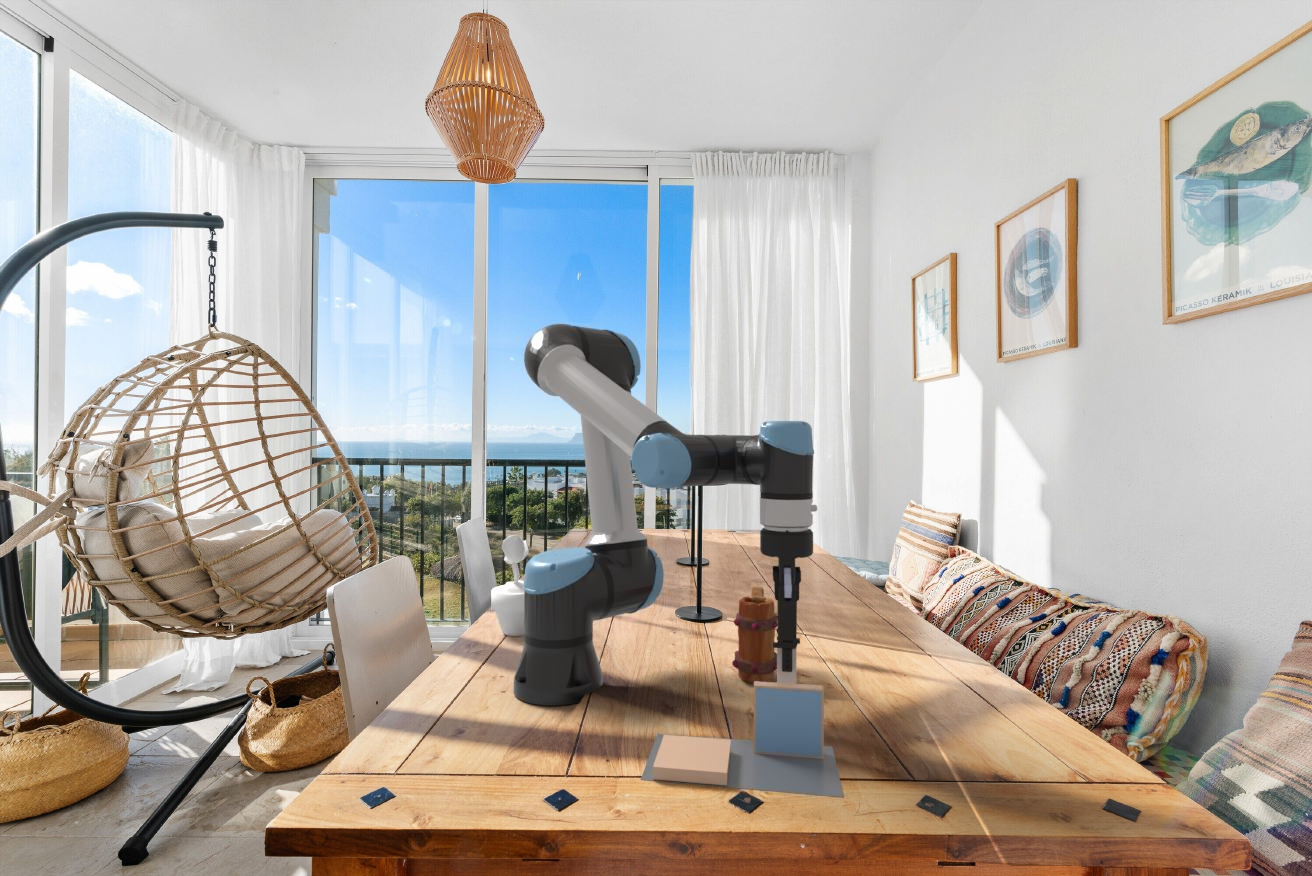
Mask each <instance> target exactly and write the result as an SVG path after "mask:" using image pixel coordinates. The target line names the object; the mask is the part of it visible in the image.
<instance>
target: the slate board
mask: <svg viewBox="0 0 1312 876" xmlns="http://www.w3.org/2000/svg"><path fill="white" fill-rule="evenodd" d="M664 735H671V734H670V733H657V735H656V737H655V740H654V743H653V745H652V748H651V751H650V753H649V756H648V759H647V761H646V764H645V767H644V769H643V772H642V775H641V776H640V781H648V782H659V783H672V784H680V785H681V784H683V785H696V786H705V787H707V786H708V787H718V788H726V789H727V788H728V789H740V790H752V791H753V790H754V791H760V792H761V791H763V792H775V793H786V794H799V795H810V796H820V797H831V798H832V797H834V798H843V799H844V793H843V786H842V784H841V779H840V775H839V771H838V765H837V759H836V755H835V752H834V751H835V750H834V747H833V746H829V745H827V746H826V745H824V759H820V758H807V757H794V756H781V755H769V754H756V753H754V740H750V739H749V740H748V739H735V738H727V739H728V740H731V755H730V764H729V772H728V781H727V785H715V784H704V783H692V782H681V781H669V780H658V779H653V765H654V762H655V759H656V756H657V753H658V751H659V748H660V745H661V742H662V739H663V736H664ZM674 735H675V736H685V735H681V734H680V735H679V734H674ZM687 736H688V737H698V736H694V735H693V736H692V735H687ZM700 737H701V738H711V737H708V736H707V737H706V736H700ZM714 738H715V739H724V737H723V738H720V737H714Z"/></svg>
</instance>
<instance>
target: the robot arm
mask: <svg viewBox="0 0 1312 876" xmlns="http://www.w3.org/2000/svg"><path fill="white" fill-rule="evenodd" d="M523 358H524V359H523V361H524V367H525V370H526V373H527V374H528V376H529V378H530V380H531V381H532V382H533V383H534V384H535V385H536V386H537V387H538V388H539V389H540V390H541V391H543V392H544V393H546V395H549V396H552V397H559V398H560V399H561V400H562V401H564V402H565V403H567V404H568V405H569V406H570V407H571V408H572V409H573V410H575V411H576V412H577V413H578V415H580V421H581V422H580V423H581V433H582V444H583V452H584V464H585V473H586V474H585V475H586V483H587V485H586V486H587V495H588V502H589V503H588V504H589V514H590V525H591V533H592V534H591V535H590V537H589V538H588V539H587V541H586V542H585V544H584V546H585V547H579V546H576V547H575V546H574V547H570V546H569V547H565V548H555V549H550V550H546V551H543V552H540V553H537V554H535V555H534V556H532V557H531V558H530V559H529V560H528V561H527V563H526V564H525V569H524V578H523V579H524V580H523V581H524V584H523V587H524V636H523V637H524V638H523V639H524V643H523V644H524V645H523V649H522V652H521V654H520V658H519V660H518V665H517V667H516V670H515V673H514V676H513V694H514V696H515V697H516V698H517V699H518V700H520V701H523V702H526V703H528V704H533V705H541V706H565V705H566V706H567V705H572V704H577V703H581V702H582V700H583V698H584V697H585V696H586V695H589V694H590V693H593V692H595V691H597V690H598V689H600V688H601V687H602V686H604V683H603V682H604V675H603V671H602V667H601V665H600V662H599V658H598V655H597V652H596V648H595V645H594V640H593V639H594V638H593V637H594V636H593V635H594V633H593V630H594V627H593V626H594V622H595V621H600V620H605V619H608V618H613V617H617V616H620V615H624V614H635V613H636V612H638V611H641V610H644V609H647V608H648V607H650V606H652V605H654V603H655V602H656V601H657V600H656V599H657V598H658V597H659V596H660V594H661V592H662V589H663V585H664V575H665V573H664V565H663V563H662V560H661V558H660V557H659V556H658V553H657V552H656V550H654V549H653V548H651V547H649V546H648V538H647V536H646V535H645V534H644V533H642V531H640V530H639V528H638V520H637V519H638V518H637V510H636V502H635V491H634V482H633V473H632V472H634V474H635V477H636V479H637V480H638V482H640V484H642V485H643V486H645V487H648V488H652V489H653V488H654V489H655V488H658V489H664V490H668V489H669V490H671V489H676V488H684V487H696V486H698V487H699V486H713V485H714V486H715V485H717V486H718V485H731V484H732V485H734V484H735V485H755V486H759V493H760V495H759V496H760V497H759V524H760V525H762V526H763V527H762V528H761V530H760V532H759V537H760V540H759V541H760V542H759V543H760V544H759V547H760V549H759V551H760V553H761V554H762V555H764V556H766V557H768V558H769V557H770V558H777V559H778V561H777V562H778V564H777V565H772V581H773V582H774V584H773V585H774V600H775V601H776V602H777V606H776V607H777V616H778V620H777V624H778V626H777V627H776V634H777V636H776V642H775V641H774V642H773V648H774V649H776V653H777V669H776V683H792V684H797V647H798V644H799V645H800V644H801V639H800V637H797V628H798V627H797V625H798V623H797V620H798V618H797V617H798V614H797V613H798V611H797V609H798V603H797V602H799V600H800V583H801V582H802V570H801V567H800V566H796V559H799V558H801V559H804V558H809V557H811V556H812V555H813V554H814V532H813V531H812V529H810V528H809V527H812V525H814V524H813V523H814V521H813V520H814V519H813V518H814V517H813V516H814V515H813V513H812V512H814V513H815V512H817V511H818V506H817V505H816V504H813V503H814V502H813V496H814V495H813V494H814V491H813V484H814V483H813V480H814V479H813V474H814V471H813V470H814V454H815V450H814V443H813V441H814V440H813V429H812V426H811V424H810V423H808V422H806V421H804V420H803V421H802V420H772V421H771V420H770V421H763V422H762V423H761V425H760V428H759V434H756V435H748V434H745V435H743V434H742V435H741V434H740V435H737V434H736V435H735V434H734V435H731V434H687V433H683V432H682V431H680V430H679V429H678V428H676V427H675V426H673V425H672V424H670V423H669V422H668V421H667V420H665V419H664V418H663V417H661V416H660V415H659V414H657V413H656V412H655V411H653V409H651V408H649V407H648V406H646V404H644V403H643V402H642V401H640V399H637V398H636V397H634V396H633V395H632V389H633V388H634V387H635V386H636V384H637V383H638V381H639V378H638V377H639V376H640V374H641V368H642V366H641V358H640V353H639V351H638V348H637V346H636V345H635V343H634V342H633V340H631V339H630V337H628V336H626V335H625V334H622V333H619V332H616V331H613V330H610V329H599V328H591V327H585V326H579V325H571V324H566V323H556V324H555V323H553V324H549V325H546V326H544V327H542V328H540V329H539V330H537V331H536V332H535V333H534V334H533V335H532V336H531V337H530V339H529V340H528V342H527V344H526V347H525V349H524V356H523Z"/></svg>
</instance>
